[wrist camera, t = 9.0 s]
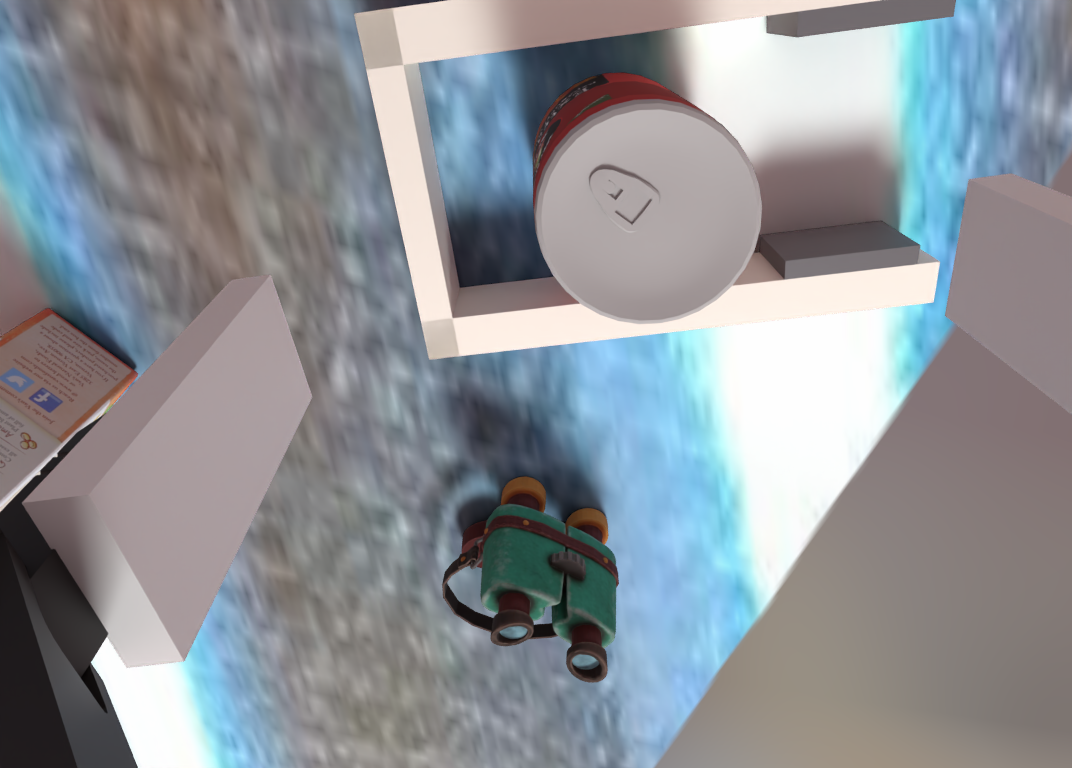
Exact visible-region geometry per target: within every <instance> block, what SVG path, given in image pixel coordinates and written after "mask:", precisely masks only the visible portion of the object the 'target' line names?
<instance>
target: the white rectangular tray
mask: <svg viewBox="0 0 1072 768" xmlns="http://www.w3.org/2000/svg"><path fill="white" fill-rule="evenodd" d="M955 2H956V0H447V1H440V2H433V3H426V4H418V5H411V6H404V7H397V8H390V9H383V10H375V11H368V12H361V13H354V15H355V20H356V25H357V29H358V34H359V38H360V43H361V48H362V52H363V57H364V61H365V66H366V71H367V75H368V80H369V84H370V89H371V94H372V98H373V103H374V107H375V112H376V117H377V121H378V126H379V130H380V135H381V140H382V144H383V149H384V153H385V158H386V163H387V167H388V172H389V176H390V181H391V186H392V190H393V195H394V199H395V204H396V209H397V213H398V218H399V222H400V227H401V232H402V236H403V241H404V245H405V250H406V255H407V259H408V264H409V268H410V273H411V278H412V282H413V287H414V291H415V296H416V301H417V305H418V310H419V314H420V319H421V324H422V328H423V333H424V337H425V342H426V347H427V351H428V356H429V360H430V359H439V358H447V357H456V356H465V355H474V354H483V353H492V352H500V351H509V350H518V349H527V348H536V347H544V346H553V345H562V344H571V343H580V342H588V341H597V340H606V339H615V338H624V337H633V336H641V335H650V334H659V333H668V332H677V331H685V330H694V329H703V328H712V327H721V326H729V325H738V324H747V323H756V322H765V321H774V320H782V319H791V318H800V317H809V316H818V315H826V314H835V313H844V312H853V311H862V310H870V309H879V308H888V307H897V306H906V305H915V304H923V303H932V302H934V296H935V290H936V283H937V277H938V271H939V265H940V261H938V260H937V259H935V258H933V257H932V256H930V255H929V254H927V253H926V252H924V251H922V250H921V249H920V245H919V244H918V243H916V242H914V241H913V240H911V239H910V238H908V237H906V236H905V235H903V234H902V233H900V232H898V231H897V230H895V229H894V228H892V227H891V226H889V225H887V224H886V223H884V222H883V221H875V222H866V223H858V224H850V225H841V226H833V227H825V228H816V229H808V230H800V231H791V232H783V233H774V234H766V235H760V252H758V253H753V254H752V256H751V258H750V260H749V262H748V264H747V266H746V268H745V270H744V271H743V272H742V274H741V275H740V276H739V278H738V279H737V280H736V281H735V283H734V284H733V285H732V286H731V287H730V288H729V289H728V290H727V291H726V292H725V293H724V294H723V295H722V296H720V297H719V298H718V299H717V300H716V301H714V302H713V303H711V304H710V305H708V306H706V307H705V308H703V309H702V310H700V311H698V312H696V313H693V314H691V315H688V316H686V317H683V318H681V319H677V320H673V321H668V322H663V323H655V324H635V323H628V322H622V321H617V320H614V319H611V318H608V317H605V316H602V315H599V314H598V313H596V312H594V311H592V310H590V309H589V308H587V307H585V306H583V305H582V304H580V303H579V302H578V301H577V300H576V299H574V298H573V297H572V296H571V295H570V294H569V293H567V292H566V291H565V289H564V288H563V287H562V286H561V284H560V283H559V282H558V281H557V280H556V278H555V277H547V278H539V279H530V280H522V281H513V282H505V283H496V284H488V285H480V286H471V287H463V288H460V286H459V281H458V275H457V270H456V265H455V259H454V254H453V248H452V243H451V237H450V232H449V227H448V221H447V216H446V210H445V205H444V199H443V194H442V189H441V183H440V178H439V172H438V167H437V161H436V156H435V151H434V145H433V140H432V134H431V129H430V123H429V118H428V112H427V107H426V102H425V96H424V91H423V85H422V80H421V74H420V69H419V64H418V63H420V62H428V61H435V60H443V59H450V58H457V57H465V56H472V55H480V54H487V53H495V52H502V51H509V50H517V49H524V48H532V47H539V46H546V45H554V44H561V43H569V42H576V41H583V40H591V39H598V38H606V37H613V36H620V35H628V34H635V33H643V32H650V31H657V30H665V29H672V28H680V27H687V26H694V25H702V24H709V23H717V22H724V21H731V20H739V19H746V18H754V17H761V16H767V33H771V34H778V35H785V36H792V37H803V36H810V35H818V34H825V33H833V32H840V31H848V30H855V29H863V28H870V27H878V26H885V25H893V24H900V23H908V22H915V21H923V20H930V19H938V18H945V17H953V16H954V9H955Z"/></svg>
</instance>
